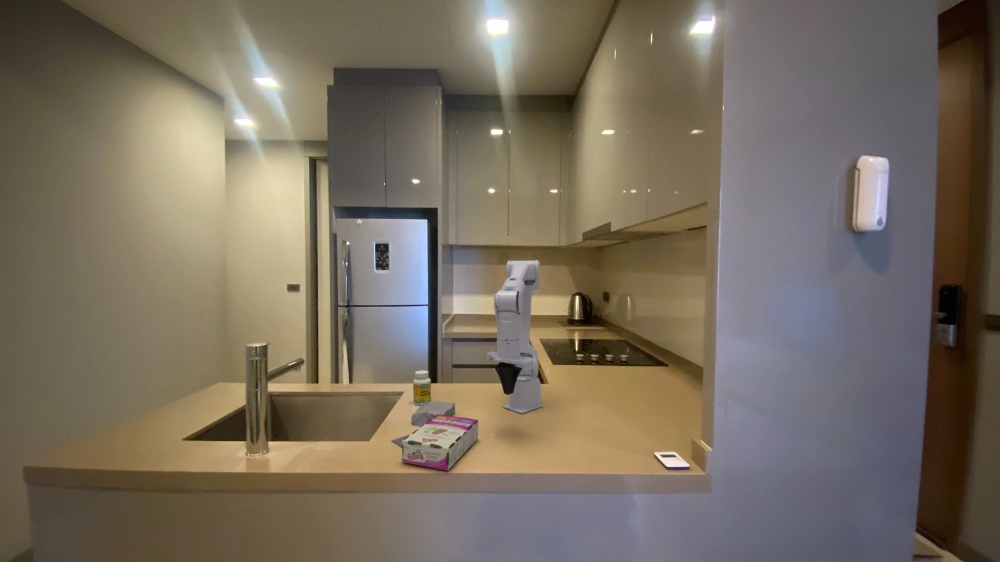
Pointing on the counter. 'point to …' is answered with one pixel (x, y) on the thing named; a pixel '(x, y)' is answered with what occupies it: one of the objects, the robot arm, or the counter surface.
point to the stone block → (432, 411)
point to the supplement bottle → (421, 388)
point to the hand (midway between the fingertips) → (508, 393)
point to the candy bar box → (440, 441)
